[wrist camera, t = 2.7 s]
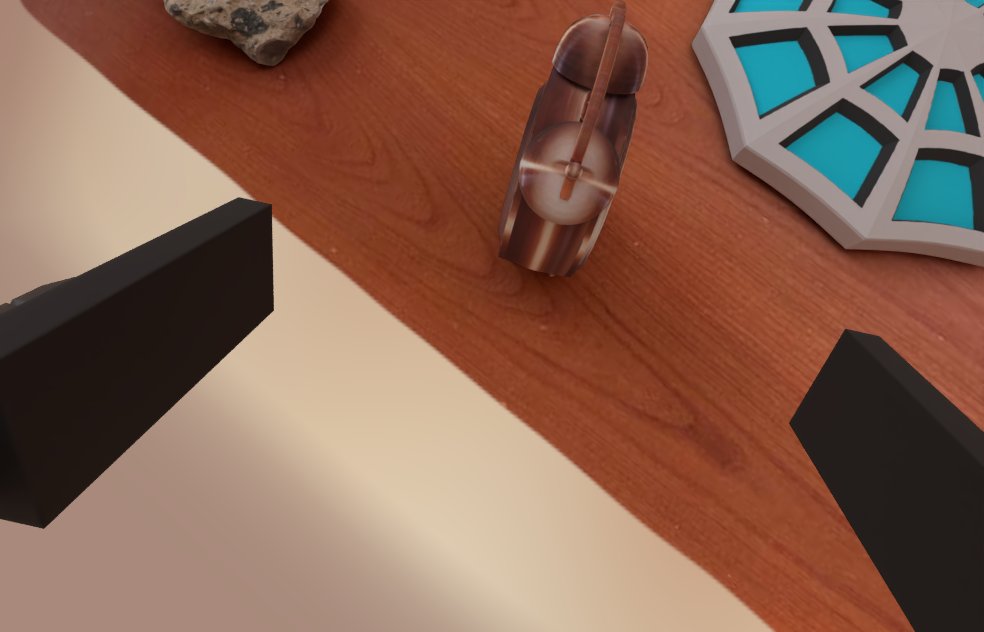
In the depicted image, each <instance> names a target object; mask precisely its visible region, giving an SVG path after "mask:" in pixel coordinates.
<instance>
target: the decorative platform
mask: <svg viewBox="0 0 984 632" xmlns="http://www.w3.org/2000/svg"><path fill="white" fill-rule="evenodd" d="M691 45H692V48H693V50H694V52H695V54H696V56H697V58H698V60H699V62H700V64H701V67H702V69H703V71H704V73H705V75H706V78H707V80H708V82H709V85H710V87H711V89H712V92H713V95H714V97H715V100H716V103H717V106H718V109H719V112H720V115H721V118H722V122H723V125H724V129H725V133H726V137H727V141H728V144H729V149H730V153H731V157H732V160H733V161H734V162H736V163H737V164H739V165H740V166H742V167H744V168H745V169H747V170H748V171H750V172H751V173H753V174H754V175H756V176H757V177H759V178H760V179H762V180H763V181H764V182H766V183H767V184H769V185H770V186H772V187H773V188H774V189H776V190H777V191H779V192H780V193H781V194H783V195H784V196H785V197H787V198H788V199H789V200H791V201H792V202H793V203H794V204H795V205H797V206H798V207H799V208H800V209H802V210H803V211H804V212H805V213H806V214H807V215H809V216H810V217H811V218H812V219H813V220H814V221H815V222H817V223H818V224H819V225H820V226H821V227H822V228H823V229H824V230H825V231H827V232H828V233H829V234H830V235H831V236H832V237H833V238H834V239H835V240H836V241H837V242H838V243H839V244H841V245H842V246H843V247H844V248H845V249H862V250H885V251H899V252H909V253H917V254H923V255H930V256H935V257H940V258H945V259H950V260H955V261H959V262H964V263H968V264H973V265H977V266H982V267H984V0H714V2H713V5H712V7H711V9H710V11H709V13H708V15H707V17H706V19H705V21H704V23H703V24H702V26H701V28H700V30H699V32H698V33H697V35H696V37H695V39H694V40H693V42H692V44H691Z"/></svg>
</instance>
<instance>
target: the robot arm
mask: <svg viewBox="0 0 984 632" xmlns="http://www.w3.org/2000/svg"><path fill="white" fill-rule="evenodd" d="M272 248H273V247H272V204H267V203H262V202H258V201H253V200H249V199H244V198H236V199H234V200H232V201H230V202H228V203H226V204H224V205H222V206H220V207H218V208H216V209H214V210H212V211H210V212H208V213H206V214H204V215H202V216H200V217H198V218H195V219H193V220H191V221H189V222H187V223H185V224H183V225H181V226H179V227H177V228H175V229H173V230H171V231H169V232H167V233H165V234H163V235H161V236H159V237H157V238H155V239H153V240H151V241H149V242H147V243H145V244H142V245H141V246H138V247H136V248H135V249H132V250H130V251H128V252H126V253H124V254H122V255H120V256H118V257H116V258H114V259H112V260H110V261H108V262H106V263H104V264H102V265H100V266H98V267H96V268H94V269H91V270H89V271H88V272H85V273H83V274H81V275H79V276H77V277H73V278H70V279H66V280H62V281H58V282H54V283H50V284H47V285H43V286H40V287H38V288H36V289H34V290H32V291H30V292H28V293H26V294H24V295H22V296H19V297H17V298H15V299H13V300H12V302H11V304H8V303H5V304H2V305H0V519H3V520H8V521H12V522H17V523H21V524H25V525H30V526H34V527H39V528H43V529H44V528H45V527H46V526H47V525H48V524H50V523H51V522H52V521H53V520H54V519H55V518H56V517H57V516H58V515H59V514H60V513H61V512H62V511H63V510H64V509H65V508H66V507H67V506H68V505H69V504H71V502H73V501H74V500H75V499H76V498H77V497H78V496H79V495H80V494H81V493H82V492H83V491H84V490H85V489H86V488H87V487H88V486H89V485H90V484H91V483H93V482H94V481H95V480H96V479H97V478H98V477H99V476H100V475H101V474H102V473H103V472H104V471H105V470H106V469H107V468H108V467H109V466H111V464H113V462H115V461H116V460H117V459H118V458H119V457H120V456H121V455H122V454H123V453H124V452H125V451H126V450H127V449H128V448H130V446H131V445H133V444H134V443H135V442H136V441H137V440H138V439H139V438H140V437H141V436H142V435H143V434H144V433H145V432H146V431H147V430H148V429H150V427H152V425H154V424H155V423H156V422H157V421H158V420H159V419H160V418H161V417H162V416H163V415H164V414H165V413H166V412H167V411H168V410H170V409H171V408H172V407H173V406H174V405H175V404H176V403H177V402H178V401H179V400H180V399H181V398H182V397H183V396H184V395H185V394H186V393H187V392H188V391H189V390H191V389H192V388H193V387H194V386H195V385H196V384H197V383H198V382H199V381H200V380H201V379H202V378H203V377H204V376H205V375H206V374H207V373H208V372H209V371H211V370H212V369H213V368H214V367H215V366H216V365H217V364H218V363H219V362H220V361H221V360H222V359H223V358H224V357H225V356H226V355H227V354H228V353H229V352H231V350H233V349H234V348H235V347H236V346H237V345H238V344H239V343H240V342H241V341H242V340H243V339H244V338H245V337H246V336H247V335H248V334H249V333H251V332H252V330H254V329H255V328H256V327H257V326H258V325H259V324H260V323H261V322H262V321H263V320H264V319H265V318H266V317H267V316H268V315H270V313H272V312H273V311H274V295H273V249H272ZM789 424H790V426H791V427H792V429H793V431H794V432H795V434H796V436H797V437H798V439H799V441H800V442H801V444H802V446H803V447H804V449H805V451H806V452H807V454H808V455H809V457H810V459H811V460H812V462H813V464H814V465H815V467H816V469H817V470H818V472H819V474H820V475H821V477H822V479H823V480H824V482H825V484H826V485H827V487H828V489H829V490H830V492H831V493H832V495H833V497H834V498H835V500H836V502H837V503H838V505H839V507H840V508H841V510H842V512H843V513H844V515H845V517H846V518H847V520H848V522H849V523H850V525H851V527H852V528H853V530H854V531H855V533H856V535H857V536H858V538H859V540H860V541H861V543H862V545H863V546H864V548H865V550H866V551H867V553H868V555H869V556H870V558H871V560H872V561H873V563H874V564H875V566H876V568H877V569H878V571H879V573H880V574H881V576H882V578H883V579H884V581H885V583H886V584H887V586H888V588H889V589H890V591H891V593H892V594H893V596H894V598H895V599H896V601H897V602H898V604H899V606H900V607H901V609H902V611H903V612H904V614H905V616H906V617H907V619H908V621H909V622H910V624H911V626H912V627H913V629H914V631H915V632H984V432H983V431H982V430H981V429H980V428H979V427H977V426H976V425H975V424H974V423H973V422H972V421H971V420H970V419H969V418H968V417H967V416H966V415H964V414H963V413H962V412H961V411H960V410H959V409H958V408H957V407H956V406H955V405H954V404H952V403H951V402H950V401H949V400H948V399H947V398H946V397H945V396H944V395H943V394H942V393H940V392H939V391H938V390H937V389H936V388H935V387H934V386H933V385H932V384H931V383H930V382H928V381H927V380H926V379H925V378H924V377H923V376H922V375H921V374H920V373H919V372H918V371H916V370H915V369H914V368H913V367H912V366H911V365H910V364H909V363H908V362H907V361H906V360H905V359H903V358H902V357H901V356H900V355H899V354H898V353H897V352H896V351H895V350H894V349H893V348H891V347H890V346H889V345H888V344H887V343H886V342H885V341H884V340H883V339H882V338H881V337H879V336H876V335H871V334H866V333H862V332H857V331H853V330H848V329H845V330H844V332H843V334H842V335H841V337H840V339H839V340H838V342H837V344H836V345H835V347H834V349H833V350H832V352H831V354H830V355H829V357H828V359H827V360H826V362H825V364H824V365H823V367H822V369H821V371H820V372H819V374H818V376H817V377H816V379H815V381H814V382H813V384H812V386H811V387H810V389H809V391H808V392H807V394H806V396H805V397H804V399H803V401H802V402H801V404H800V406H799V407H798V409H797V411H796V412H795V414H794V416H793V417H792V419H791V421H790V422H789Z"/></svg>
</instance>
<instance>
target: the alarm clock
mask: <svg viewBox="0 0 984 632" xmlns="http://www.w3.org/2000/svg"><path fill="white" fill-rule="evenodd" d="M626 10H627V9H626V4H625V2H624V1H621V0H619V1H617V2H616V3H615V4H614V5H613V6H612V8H611V11H610V15H599V14H598V15H589V16H586V17H583V18H581V19H579V20H577V21H575V22H574V23H573V24H572V25H571V26H570V27H569V28H568V29H567V30H566V32H565V34H564V35H563V37H562V39H561V41H560V42H559V44H558V46H557V49H556V52H555V55H554V57H553V61H552V62H553V65H554V66H553V69H552V72H551V74H550V77H549V80H548V81H547V82H546V83H545V84H544V85H543V86H542V87H541V88H540V89H539V90H538V93H537V95H536V98H535V101H534V104H533V107H532V110H531V113H530V116H529V119H528V122H527V125H526V128H525V132H524V135H523V138H522V142H521V145H520V149H519V152H518V155H517V159H516V162H515V166H514V169H513V173H512V176H511V180H510V183H509V187H508V191H507V195H506V199H505V202H504V206H503V210H502V214H501V219H500V223H499V229H498V231H499V235H500V239H501V245H500V250H499V255H498V257H501V258H503V259H506V260H508V261H511V262H513V263H515V264H518V265H520V266H522V267H525V268H527V269H531V270H534V271H538V272H544V273H548V274H549V276H551V277H553V276H555V275H560V276H565V277H571V276H572V275H573V274H574V273H575V271H576V270H578V269H580V268H581V267H582V266H583V264H584V263H585V261H586V260H587V258H588V256H589V254H590V252H591V250H592V248H593V246H594V244H595V242H596V240H597V237H598V235H599V233H600V230H601V228H602V226H603V223H604V221H605V218H606V216H607V213H608V210H609V208H610V205H611V202H612V200H613V197H614V195H615V193H616V190H617V188H618V184H619V179H620V176H621V173H622V170H623V167H624V163H625V160H626V157H627V153H628V149H629V146H630V142H631V138H632V134H633V129H634V125H635V120H636V112H637V102H636V99H635V93H636V92H638V91H639V90H640V89H641V87H642V84H643V81H644V78H645V74H646V69H647V64H648V47H647V44H646V41H645V39H644V38H643V36H642V35H641V33H640V32H639V31H638V30H637V28H635V27H634V26H633V25H631V24H630V23H628V22H626V21H625V13H626Z"/></svg>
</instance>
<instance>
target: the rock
mask: <svg viewBox="0 0 984 632" xmlns="http://www.w3.org/2000/svg"><path fill="white" fill-rule="evenodd" d="M326 2H328V0H164V4H165V9H166V10H167V12H168V13H169V14H170V15H171V16H172V17H173V18H175V19H176V20H177V21H178V22H179V23H181V24H182V25H184V26H186V27H188V28H191V29H194V30H196V31H198V32H201V33H203V34H206V35H210V36H214V37H218V38H224V39H228V40H231V41H232V42H233V43H234V44H235V45H236V46H237V47H239V48H241V49H242V50H243V51H244V53H246V54H247V55H248V56H249V57H250V58H251V59H252V60H254V61H256V62H257V63H260V64H264V65H269V66H275V65H276V64H278V63H279V62H280V61H282V60H283V58H284V56H285V55H286V53H287V52H288V49H290V48H291V47H292V46H294V45H295V44H296V43H297V42H298V40H299V39H300V38H301V37H302V35H303V34H304V33H305V32H306V31H308V30H309V29H311V28H312V27H313V25H314V24H315V21H316V19H317V18H318V17H319V15H320V13H321V11H322V7H323V6H324V4H325V3H326Z"/></svg>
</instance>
